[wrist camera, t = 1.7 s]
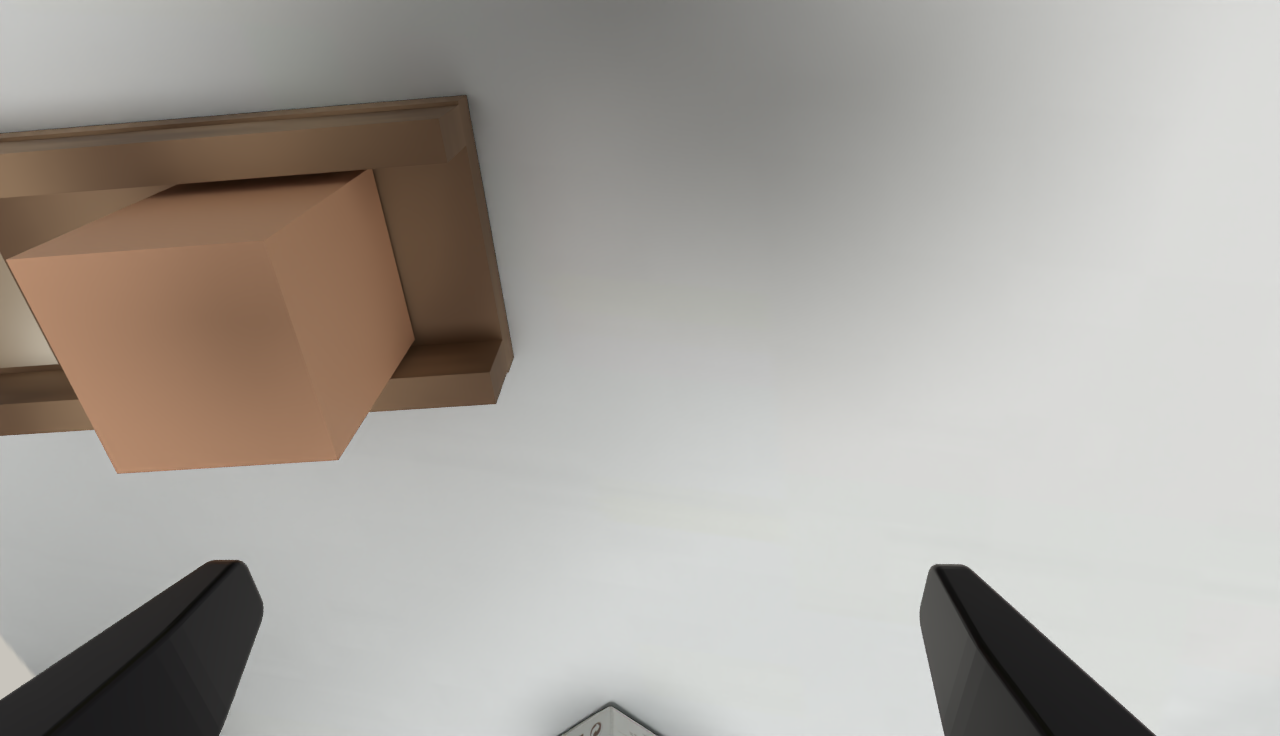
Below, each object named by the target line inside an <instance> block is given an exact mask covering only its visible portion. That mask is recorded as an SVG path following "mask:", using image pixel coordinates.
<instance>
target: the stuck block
mask: <svg viewBox="0 0 1280 736" xmlns="http://www.w3.org/2000/svg"><path fill="white" fill-rule="evenodd" d="M6 261H7V263H8V265H9V267H10V269H11V271H12V273H13V274H14V276H15V278H16V280H17V282H18V284H19V286H20V288H21V290H22V292H23V294H24V296H25V297H26V299H27V301H28V303H29V305H30V307H31V309H32V311H33V313H34V315H35V317H36V319H37V320H38V322H39V324H40V326H41V328H42V330H43V332H44V334H45V336H46V338H47V340H48V342H49V344H50V345H51V347H52V349H53V351H54V353H55V355H56V357H57V359H58V361H59V363H60V365H61V367H62V368H63V370H64V372H65V374H66V376H67V378H68V380H69V382H70V384H71V386H72V388H73V390H74V392H75V393H76V395H77V397H78V399H79V401H80V403H81V405H82V407H83V409H84V411H85V413H86V415H87V416H88V418H89V420H90V422H91V424H92V426H93V428H94V430H95V432H96V434H97V436H98V438H99V439H100V441H101V443H102V445H103V447H104V449H105V451H106V453H107V455H108V457H109V459H110V461H111V463H112V464H113V466H114V468H115V470H116V472H117V474H120V473H136V472H152V471H168V470H185V469H201V468H217V467H233V466H250V465H266V464H282V463H298V462H314V461H331V460H339V458H340V456H341V455H342V453H343V452H344V450H345V449H346V447H347V445H348V444H349V442H350V441H351V439H352V438H353V436H354V434H355V433H356V431H357V430H358V428H359V427H360V425H361V423H362V422H363V420H364V419H365V417H366V416H367V414H368V412H369V411H370V409H371V408H372V406H373V405H374V403H375V401H376V400H377V398H378V397H379V395H380V394H381V392H382V390H383V389H384V387H385V386H386V384H387V383H388V381H389V379H390V378H391V376H392V375H393V373H394V372H395V370H396V368H397V367H398V365H399V364H400V362H401V361H402V359H403V357H404V356H405V354H406V353H407V351H408V349H409V348H410V346H411V345H412V343H413V342H414V340H415V338H414V334H413V330H412V326H411V322H410V318H409V314H408V310H407V306H406V302H405V298H404V294H403V290H402V286H401V282H400V278H399V274H398V270H397V266H396V262H395V258H394V254H393V250H392V246H391V242H390V238H389V234H388V230H387V226H386V222H385V218H384V214H383V210H382V206H381V202H380V198H379V194H378V190H377V186H376V182H375V178H374V174H373V170H372V169H365V170H352V171H339V172H327V173H314V174H301V175H288V176H276V177H263V178H250V179H237V180H224V181H212V182H199V183H186V184H177V185H175V186H172V187H170V188H168V189H166V190H163V191H161V192H159V193H156V194H154V195H152V196H150V197H147V198H145V199H143V200H141V201H138V202H136V203H134V204H131V205H129V206H127V207H125V208H122V209H120V210H118V211H116V212H113V213H111V214H109V215H106V216H104V217H102V218H100V219H97V220H95V221H93V222H91V223H88V224H86V225H84V226H81V227H79V228H77V229H75V230H72V231H70V232H68V233H66V234H63V235H61V236H59V237H56V238H54V239H52V240H50V241H47V242H45V243H43V244H41V245H38V246H36V247H34V248H31V249H29V250H27V251H25V252H22V253H20V254H18V255H16V256H13V257H11V258H9V259H6Z"/></svg>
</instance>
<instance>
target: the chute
mask: <svg viewBox="0 0 1280 736" xmlns="http://www.w3.org/2000/svg"><path fill="white" fill-rule="evenodd" d="M365 169H372V170H373V174H374V178H375V182H376V186H377V190H378V194H379V198H380V202H381V206H382V210H383V214H384V218H385V222H386V226H387V230H388V234H389V238H390V242H391V246H392V250H393V254H394V258H395V262H396V266H397V270H398V274H399V278H400V282H401V286H402V290H403V294H404V298H405V302H406V306H407V310H408V314H409V318H410V322H411V326H412V330H413V334H414V338H415V340H414V342H413V343H412V345H411V346H410V348H409V349H408V351H407V353H406V354H405V356H404V357H403V359H402V361H401V362H400V364H399V365H398V367H397V368H396V370H395V372H394V373H393V375H392V376H391V378H390V379H389V381H388V383H387V384H386V386H385V387H384V389H383V390H382V392H381V394H380V395H379V397H378V398H377V400H376V401H375V403H374V405H373V406H372V408H371V409H370V411H369V412H377V411H393V410H409V409H424V408H440V407H455V406H471V405H486V404H496V403H497V400H498V397H499V394H500V391H501V388H502V385H503V382H504V380H505V377H506V374H507V372H509V370H510V367H511V364H512V361H513V358H514V355H513V350H512V344H511V339H510V333H509V328H508V322H507V317H506V311H505V306H504V300H503V295H502V289H501V284H500V278H499V272H498V267H497V261H496V256H495V250H494V245H493V239H492V234H491V228H490V223H489V217H488V212H487V206H486V201H485V195H484V190H483V184H482V179H481V173H480V168H479V162H478V156H477V151H476V145H475V140H474V134H473V129H472V123H471V118H470V112H469V107H468V101H467V96H466V95H462V96H450V97H438V98H426V99H413V100H401V101H389V102H377V103H365V104H352V105H340V106H328V107H316V108H304V109H292V110H279V111H267V112H255V113H243V114H231V115H219V116H206V117H194V118H182V119H170V120H158V121H146V122H133V123H121V124H109V125H97V126H85V127H73V128H60V129H48V130H36V131H24V132H12V133H0V436H4V435H20V434H35V433H51V432H66V431H82V430H94V428H93V426H92V424H91V422H90V420H89V418H88V416H87V415H86V413H85V411H84V409H83V407H82V405H81V403H80V401H79V399H78V397H77V395H76V393H75V392H74V390H73V388H72V386H71V384H70V382H69V380H68V378H67V376H66V374H65V372H64V370H63V368H62V367H61V365H60V363H59V361H58V359H57V357H56V355H55V353H54V351H53V349H52V347H51V345H50V344H49V342H48V340H47V338H46V336H45V334H44V332H43V330H42V328H41V326H40V324H39V322H38V320H37V319H36V317H35V315H34V313H33V311H32V309H31V307H30V305H29V303H28V301H27V299H26V297H25V296H24V294H23V292H22V290H21V288H20V286H19V284H18V282H17V280H16V278H15V276H14V274H13V273H12V271H11V269H10V267H9V265H8V263H7V261H6V259H9V258H11V257H13V256H16V255H18V254H20V253H22V252H25V251H27V250H29V249H31V248H34V247H36V246H38V245H41V244H43V243H45V242H47V241H50V240H52V239H54V238H56V237H59V236H61V235H63V234H66V233H68V232H70V231H72V230H75V229H77V228H79V227H81V226H84V225H86V224H88V223H91V222H93V221H95V220H97V219H100V218H102V217H104V216H106V215H109V214H111V213H113V212H116V211H118V210H120V209H122V208H125V207H127V206H129V205H131V204H134V203H136V202H138V201H141V200H143V199H145V198H147V197H150V196H152V195H154V194H156V193H159V192H161V191H163V190H166V189H168V188H170V187H172V186H175V185H177V184H186V183H199V182H212V181H224V180H237V179H250V178H263V177H276V176H288V175H301V174H314V173H327V172H339V171H352V170H365Z"/></svg>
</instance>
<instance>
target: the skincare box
mask: <svg viewBox="0 0 1280 736" xmlns="http://www.w3.org/2000/svg"><path fill="white" fill-rule="evenodd" d="M562 736H657V735H655V734H654V733H652V732H650V731H649V730H647V729H646V728H644V727H643V726H641V725H640V724H638V723H637V722H635V721H634V720H632V719H630V718H629V717H627V716H626V715H624V714H623V713H621V712H620V711H618V710H617V709H615V708H613V707H611V706H610V707H608V708H606V709H604V710H602V711H600V712H598V713H596V714H595V715H593V716H591V717H589V718H588V719H586V720H585V721H583V722H582V723H580V724H579V725H577V726H575V727H574V728H572V729H571V730H569V731H567V732H566V733H565V734H563V735H562Z"/></svg>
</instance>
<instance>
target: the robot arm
mask: <svg viewBox="0 0 1280 736" xmlns="http://www.w3.org/2000/svg"><path fill="white" fill-rule="evenodd" d="M262 617H263V602H262V599H261V596H260V594H259V592H258V590H257V587H256V585H255V583H254V580H253V578H252V576H251V574H250V571H249V569H248V567H247V565H246V564H245V563H243V562H242V561H239V560H213V561H209V562H207V563H205V564H204V565H202V566H200V567H199V568H197V569H196V570H194V571H193V572H192V573H190V574H189V575H187V576H186V577H184V578H183V579H181V580H180V581H178V582H177V583H175V584H174V585H172V586H171V587H169V588H168V589H166V590H165V591H163V592H162V593H160V594H159V595H157V596H156V597H154V598H153V599H151V600H150V601H148V602H147V603H145V604H144V605H142V606H141V607H139V608H138V609H136V610H135V611H133V612H132V613H130V614H129V615H127V616H126V617H124V618H123V619H121V620H120V621H118V622H117V623H115V624H114V625H112V626H111V627H109V628H108V629H106V630H105V631H103V632H102V633H100V634H99V635H97V636H96V637H94V638H93V639H91V640H90V641H88V642H87V643H85V644H84V645H82V646H81V647H79V648H78V649H76V650H75V651H73V652H72V653H70V654H69V655H67V656H66V657H64V658H63V659H61V660H60V661H58V662H57V663H55V664H54V665H52V666H51V667H49V668H48V669H46V670H45V671H43V672H42V673H40V674H39V675H37V676H36V677H34V678H33V679H31V680H30V681H28V682H27V683H25V684H24V685H22V686H21V687H19V688H18V689H16V690H15V691H13V692H12V693H10V694H9V695H7V696H6V697H4V698H3V699H1V700H0V736H219V734H220V732H221V730H222V727H223V725H224V722H225V720H226V717H227V715H228V712H229V710H230V707H231V704H232V701H233V699H234V696H235V693H236V690H237V688H238V685H239V682H240V679H241V676H242V674H243V671H244V668H245V665H246V663H247V660H248V657H249V654H250V652H251V649H252V646H253V643H254V641H255V638H256V635H257V632H258V630H259V627H260V624H261V621H262ZM920 626H921V631H922V635H923V640H924V645H925V649H926V654H927V658H928V663H929V667H930V672H931V677H932V681H933V686H934V690H935V695H936V699H937V704H938V708H939V713H940V718H941V722H942V727H943V731H944V735H945V736H1156V735H1155V734H1154V733H1153V732H1151V731H1150V730H1149V729H1148V728H1147V727H1146V726H1145V725H1144V724H1143V723H1141V722H1140V721H1139V720H1138V719H1137V718H1136V717H1135V716H1134V715H1133V714H1131V713H1130V712H1129V711H1128V710H1127V709H1126V708H1125V707H1124V706H1123V705H1121V704H1120V703H1119V702H1118V701H1117V700H1116V699H1115V698H1114V697H1113V696H1111V695H1110V694H1109V693H1108V692H1107V691H1106V690H1105V689H1104V688H1103V687H1101V686H1100V685H1099V684H1098V683H1097V682H1096V681H1095V680H1094V679H1093V678H1091V677H1090V676H1089V675H1088V674H1087V673H1086V672H1085V671H1084V670H1083V669H1081V668H1080V667H1079V666H1078V665H1077V664H1076V663H1075V662H1074V661H1073V660H1071V659H1070V658H1069V657H1068V656H1067V655H1066V654H1065V653H1064V652H1062V651H1061V650H1060V649H1059V648H1058V647H1057V646H1056V645H1055V644H1054V643H1052V642H1051V641H1050V640H1049V639H1048V638H1047V637H1046V636H1045V635H1044V634H1042V633H1041V632H1040V631H1039V630H1038V629H1037V628H1036V627H1035V626H1034V625H1032V624H1031V623H1030V622H1029V621H1028V620H1027V619H1026V618H1025V617H1024V616H1022V615H1021V614H1020V613H1019V612H1018V611H1017V610H1016V609H1015V608H1014V607H1012V606H1011V605H1010V604H1009V603H1008V602H1007V601H1006V600H1005V599H1004V598H1002V597H1001V596H1000V595H999V594H998V593H997V592H996V591H995V590H994V589H992V588H991V587H990V586H989V585H988V584H987V583H986V582H985V581H984V580H982V579H981V578H980V577H979V576H978V575H977V574H976V573H975V572H974V571H972V570H971V569H970V568H969V567H967V566H965V565H961V564H936V565H933V566H932V567H931V568H930V570H929V572H928V576H927V580H926V584H925V589H924V593H923V597H922V602H921V606H920Z"/></svg>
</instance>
